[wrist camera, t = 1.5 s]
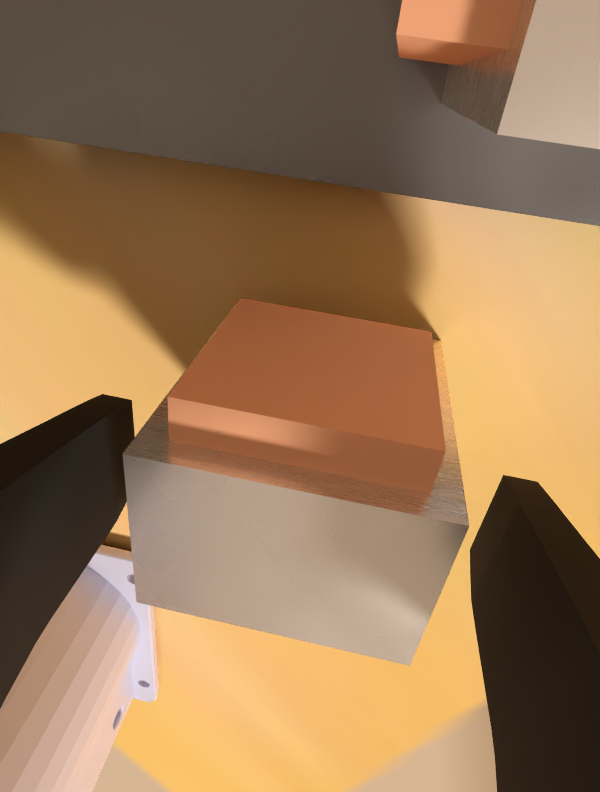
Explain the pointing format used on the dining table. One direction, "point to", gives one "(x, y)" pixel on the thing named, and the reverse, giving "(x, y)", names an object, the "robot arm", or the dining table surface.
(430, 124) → the rail
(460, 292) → the dining table surface
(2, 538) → the robot arm
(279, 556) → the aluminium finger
